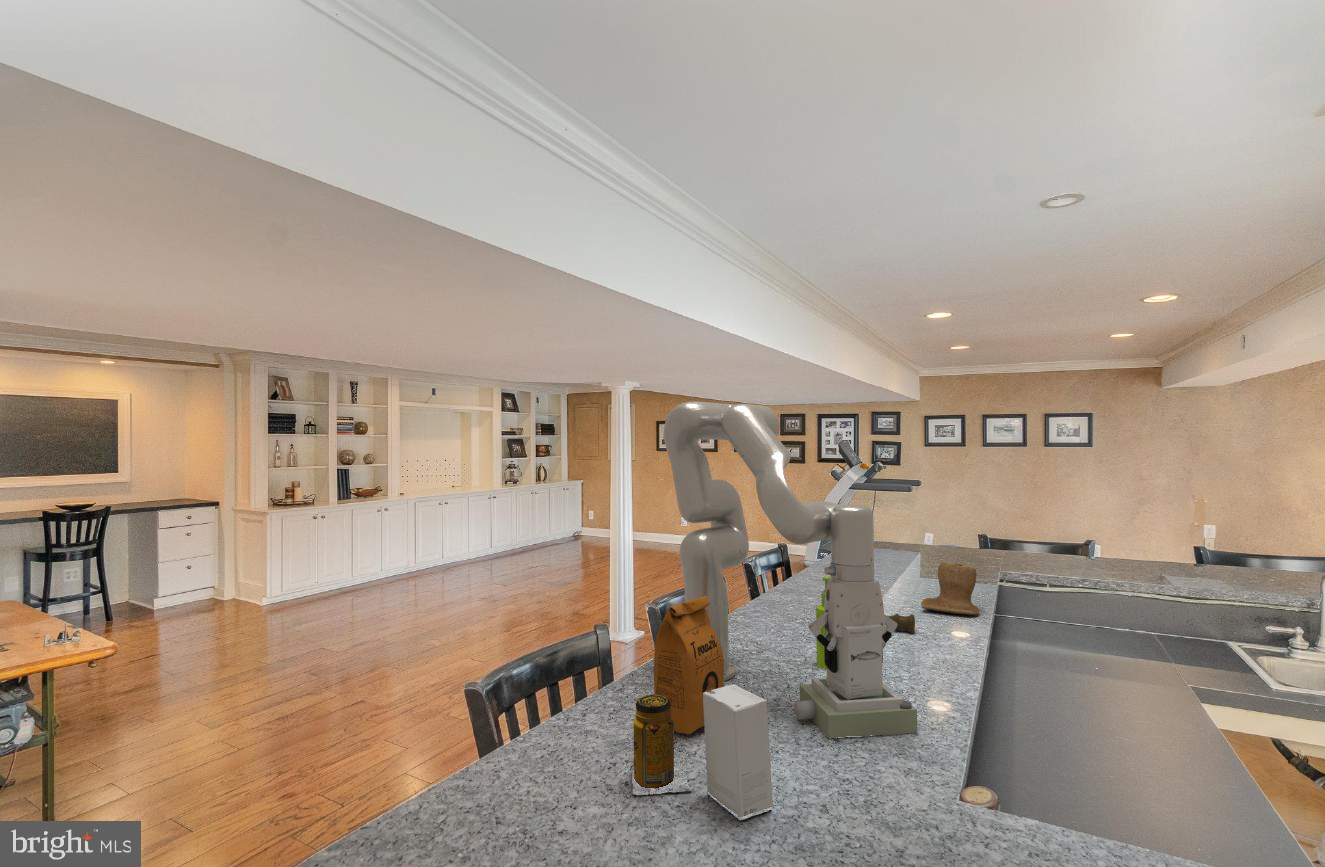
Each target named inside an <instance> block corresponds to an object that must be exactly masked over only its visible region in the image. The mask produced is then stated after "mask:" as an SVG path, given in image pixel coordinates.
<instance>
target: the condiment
mask: <svg viewBox="0 0 1325 867" xmlns="http://www.w3.org/2000/svg"><path fill="white" fill-rule="evenodd" d="M632 729H633V770H634V779H635V781H636V782H637V783H638V784H639V785H640V786H641V787H645V788H659V787H663V786H666V785H668V784H669V783H671V782H672V781H673V778H674V767H675V731H674V721H673V718H672V716H671V702H670V700H669V699H668V698H667V697H665V696H661V695H654V694H647V695H644V696H640V697H639V698H638V699H637V700H636V703H635V717H634V719H633V728H632Z"/></svg>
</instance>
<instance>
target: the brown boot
mask: <svg viewBox="0 0 1325 867" xmlns="http://www.w3.org/2000/svg"><path fill="white" fill-rule="evenodd" d="M937 577H938V578H937V579H938V585H939V595H938V596H937V597H926V598H924V599H923V600H922V601H921V603H920V607H921V609H923V610H928V611H933V612H939V613H945V612H946V613H947V614H957V615H977V614H979V613H980V608H979V607H977V606H975V605H974V604H973V603H972V595H973V591H974V589H975V587H976V583H977V568H976V567H975V566H973V565H971V564H964V563H956V562H951V561H945V560H944V561H942V560H941V561H940V562H939V564H938V566H937ZM946 613H945V614H946Z"/></svg>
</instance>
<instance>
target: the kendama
mask: <svg viewBox="0 0 1325 867" xmlns="http://www.w3.org/2000/svg"><path fill="white" fill-rule="evenodd" d="M887 616H888V617H889V618H890V619H892V620H893V621H895V622H896V623H897V624H898V626H897V627H896V629H895V631H899V630H903V631H906V632H908V633H910V634H911V635H913V634H914V633H915V629H916V628H915V627H916V619H915V618H916V617H915V615H914V614H913V613H912V614H910V615H900V614H899V613H895V614H894V615H887ZM885 626H886V624H885ZM912 633H913V634H912Z"/></svg>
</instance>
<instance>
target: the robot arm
mask: <svg viewBox="0 0 1325 867" xmlns="http://www.w3.org/2000/svg"><path fill="white" fill-rule="evenodd" d="M780 427H781V424H780V419H779V417H778V415H777V414H776V412H775V410H773V409H772V408H771V407H770V406H766V405H761V404H753V403H752V404H751V403H736V404H731V403H720V402H710V401H709V402H706V401H698V400H697V401H692V400H691V401H685V402H683V403H678V405H676V406H675V407H673V408H672V410H671V411H670V412H669V413H668V415H667V416H666V419H665V423H664V427H663V439H664V440H663V441H664V445H665V449H666V452H667V455H668V458H669V462H670V467H671V472H672V473H671V474H672V478H673V484H674V490H675V496H676V500H677V506H678V512H679V514H680V516H681V518H682V519H683V520H685V522H687V523H691V524H701V523H710V527H706V528H699V529H696V530H693V531H691V532H690V533H687V535H686V536H684V537H683V539H682V541H681V544H680V547H679V557H680V558H679V559H680V563H681V569H682V574H683V580H684V581H683V583H684V602H686V601H690V600H693V599H697V598H701V597H704V596H707V597H708V599H709V602H710V605H709V606H707V607H705V610H706V611H707V612H708V616H709V619H710V623H711V626H712V627H713V629H714V630H715V633H716V635H717V637H718V640H719V643H720V645H721V648H722V653H723V658H724V682H725V681H728V680H730V679H732V678H734V676H736V674H737V668H736V665H735V664H733V663H732V662H730V661H729V658H730V657H729V656H730V655H729V654H730V653H729V652H730V651H729V600H728V599H729V596H728V593H729V592H728V587H727V583H726V581H725V579H724V576H723V574H722V570H725V569H729V568H734V567H736V566H738V565H740V564H742V563H743V562H744V561H745V560H746V559H747V557H748V555H749V548H750V545H749V542H750V540H749V535H748V531H747V526H746V520H745V515H744V510H743V506H742V504H743V503H742V501H741V497H740V495H739V492H738V491H737V488H735V487H734V485H733V484H732V483H730V482H729V481H727V480H724V479H713V478H712V475H711V470H710V464H709V459H708V457H707V455H706V453H705V451H704V450H703V448H702V447H701V445H700V444H699V440H715V441H717V440H721V441H729V443H730V444H731V446H732V447H733V449H734V450H735V451H736V452H737V455H738V456H740V458H741V459H742V461H743V462H744V463H745V465H746V466H747V468H748V469H749V470H750V472H751V474H752V475H753V476H754V478H755V488H756V493H757V498H758V501H759V505H760V507H761V508H762V511H763V512H764V514H765V515H766V517H767V518H768V520H769V522H771V524H772V525H773V526H774V528H775V529H776V531H777V532H778V533H779V534H780V536H782V537H783V538H784V539H786V540H787V541H788V542H790V543H792V544H795V545H807V544H809V543H815V542H820V541H825V540H827V541H828V540H830V552H831V553H830V554H831V555H830V556H831V557H830V563H829V564H830V565H829V566H826V567H824V568H823V571H824V575H828V576H831V577H832V579H828V584H827V588H826V595H825V604H824V614H823V615H821V616H820V617H819V618H818V619H816V618H815V620H814V621H812V622H811V623H810V624H809V625H808V629H809V630H810V632H811V634H812V635H813V636H814V638H815V640H816V641H817V640H818V641H819V642H820V643H821V644H822V645H823V646H824V660H825V665H826V666H827V668H828V669H829V670H830V671H831V672H832V673H836V672H837V652H836V650H834V647H835V645H836V644H837V642H838V640H839V639H842V638H843V629H844V626H861V625H863V626H866V625H882V664H883V663H884V652H883V651H884V650H883V649H885V648H886V644H887V643H888V641H889V640H890V639H891V638H892V636H893V634H894V632H895V631H896V630H895V629H896V627H897V626H898V624H897V623H896V622H895V621H893V620H892V619H890V618H889V617H888V616H889V615H887V614H885V610H884V608H885V607H884V601H883V593H882V589H881V585H880V581H879V580H877V579H875V544H874V543H875V541H874V540H875V539H874V528H875V526H874V512H873V510H872V509H871V508H870V507H869V506H867V505H861V504H840V503H839V504H838V503H833V502H831V501H824V500H818V501H807V502H801V500H800V499H799V497H798V496H797V495H796V494H795V493H794V491H793V489H792V488H791V487H790V485H789V484H788V481H787V479H786V476H785V468H786V467H787V466H788V464H790V461H791V453H790V452H789V450H788V449H787V447H786V446H785V445H784V444H783V443H782V441H781V440H780V439H779V437H778V435H779V433H780V429H781V428H780ZM885 624H886V625H885ZM823 626H824V628H825V630H826V631H828V632H827V633H826V635H825V637H824V636H823V635H822V634H821V632H820V628H821V627H823Z"/></svg>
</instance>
